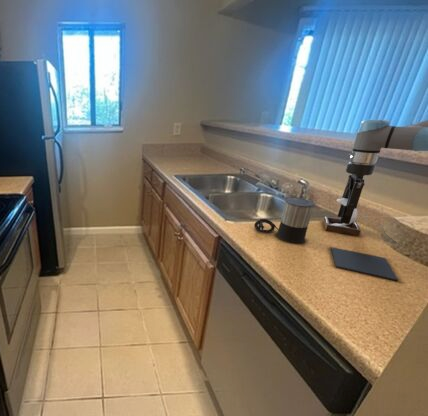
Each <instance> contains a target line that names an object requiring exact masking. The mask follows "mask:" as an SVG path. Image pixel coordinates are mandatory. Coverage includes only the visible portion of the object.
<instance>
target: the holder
mask: <svg viewBox="0 0 428 416" xmlns="http://www.w3.org/2000/svg"><path fill="white" fill-rule="evenodd" d="M340 220H341V218H339V217H338V218H337V217H331V216H324V218H323V225H324V228H325V231H327V232H332V233H339V234H343V235H349V236H354V237H359V236H360V234H361V228H360V227H359V225H358V222H357V221H356V220H355V221H354V222H353V223H351V224H349V225H346V227H341V226H335V225H330V224H334V223H338V224H343V223H340ZM347 227H349V228H347Z"/></svg>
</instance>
